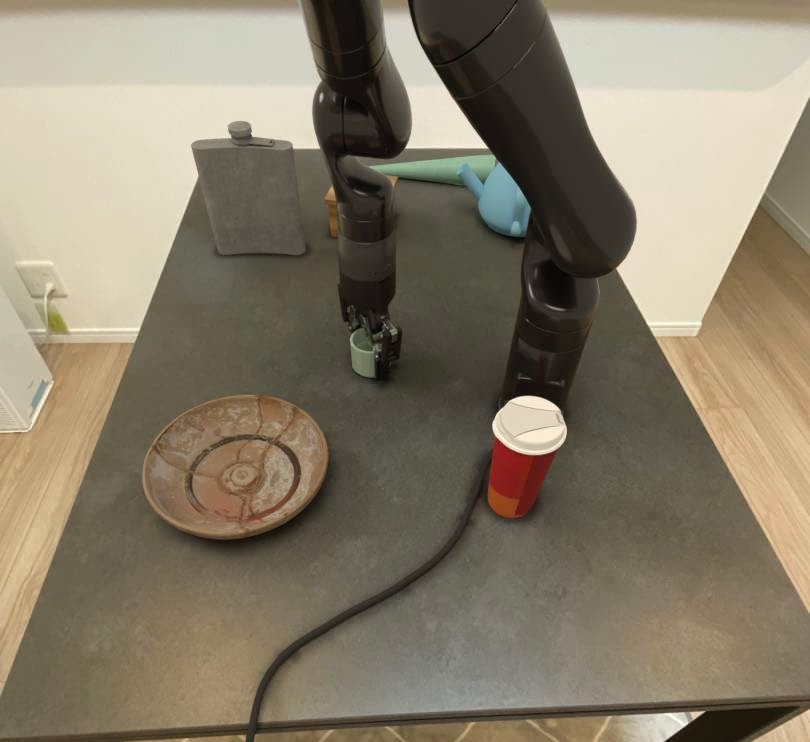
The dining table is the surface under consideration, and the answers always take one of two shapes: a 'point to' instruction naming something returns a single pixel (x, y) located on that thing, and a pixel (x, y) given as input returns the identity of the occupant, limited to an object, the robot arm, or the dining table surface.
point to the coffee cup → (523, 453)
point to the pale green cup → (363, 353)
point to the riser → (331, 203)
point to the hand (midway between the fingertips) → (370, 363)
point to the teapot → (498, 200)
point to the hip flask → (250, 192)
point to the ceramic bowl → (235, 466)
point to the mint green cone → (440, 169)
